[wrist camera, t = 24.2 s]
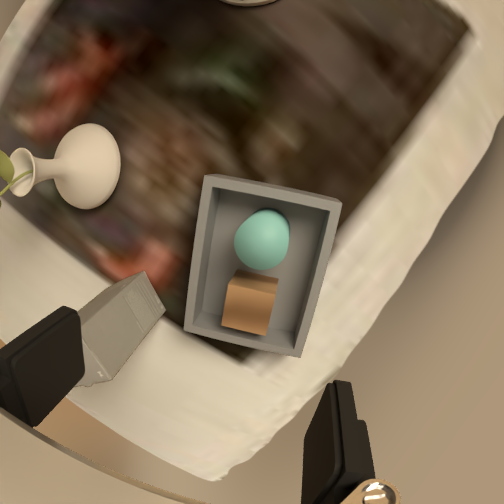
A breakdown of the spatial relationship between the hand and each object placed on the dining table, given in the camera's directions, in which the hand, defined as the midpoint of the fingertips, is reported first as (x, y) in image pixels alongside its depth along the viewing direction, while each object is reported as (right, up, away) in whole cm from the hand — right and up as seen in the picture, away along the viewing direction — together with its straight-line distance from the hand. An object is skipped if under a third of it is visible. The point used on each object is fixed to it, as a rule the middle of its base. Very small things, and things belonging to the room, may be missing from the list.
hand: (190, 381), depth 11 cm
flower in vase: (-20, +15, +29) cm, 38 cm away
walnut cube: (+2, 0, +28) cm, 28 cm away
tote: (+3, +4, +28) cm, 29 cm away
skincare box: (-14, -2, +33) cm, 36 cm away
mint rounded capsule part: (+4, +7, +26) cm, 27 cm away
